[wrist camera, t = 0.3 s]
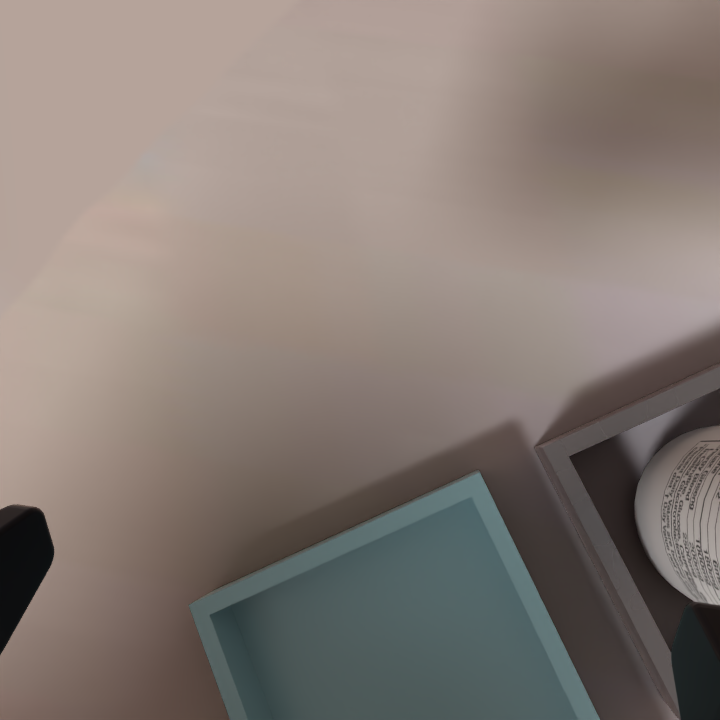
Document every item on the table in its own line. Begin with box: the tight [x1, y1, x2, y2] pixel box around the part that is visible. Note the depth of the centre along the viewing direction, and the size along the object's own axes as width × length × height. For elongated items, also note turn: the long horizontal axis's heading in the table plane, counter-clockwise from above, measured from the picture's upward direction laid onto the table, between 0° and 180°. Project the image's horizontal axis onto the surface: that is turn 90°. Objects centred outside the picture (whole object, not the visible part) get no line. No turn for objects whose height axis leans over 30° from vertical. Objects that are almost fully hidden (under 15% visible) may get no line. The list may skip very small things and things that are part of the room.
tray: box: [189, 470, 600, 720], centre depth 20 cm, size 11×11×2 cm
